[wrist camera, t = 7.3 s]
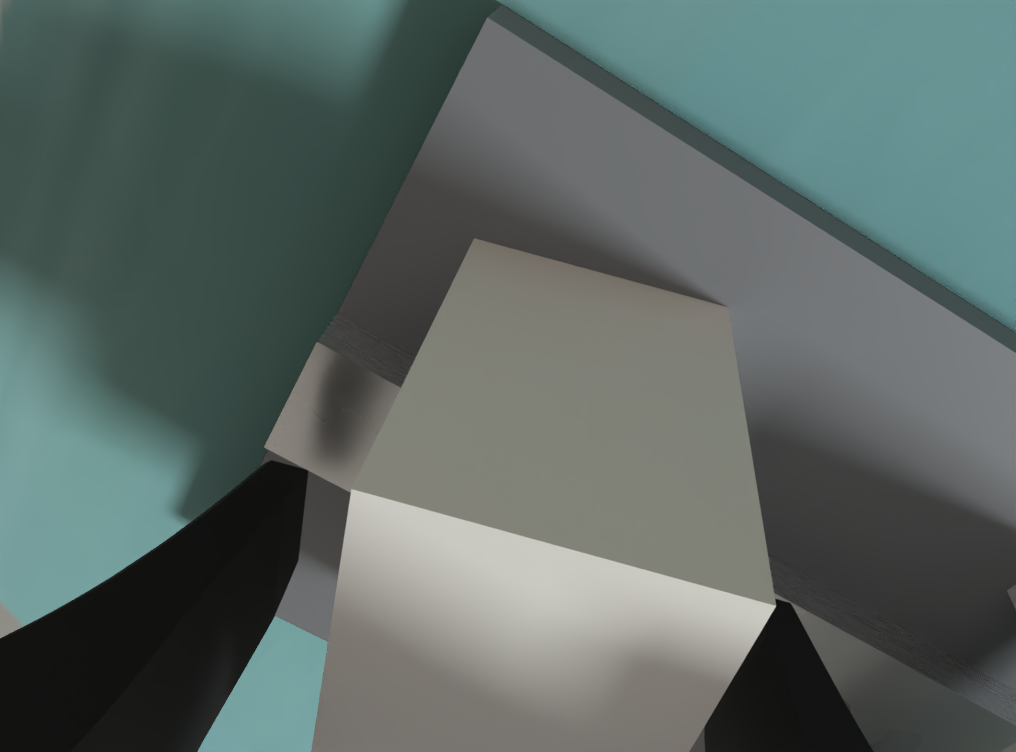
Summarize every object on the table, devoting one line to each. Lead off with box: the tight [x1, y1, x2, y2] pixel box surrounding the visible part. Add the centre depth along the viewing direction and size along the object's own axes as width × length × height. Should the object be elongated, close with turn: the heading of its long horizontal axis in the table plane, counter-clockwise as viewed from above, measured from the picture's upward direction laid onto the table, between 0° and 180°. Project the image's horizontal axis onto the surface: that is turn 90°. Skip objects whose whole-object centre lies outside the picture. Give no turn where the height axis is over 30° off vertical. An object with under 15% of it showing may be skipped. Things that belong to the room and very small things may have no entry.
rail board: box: [260, 4, 1016, 752], centre depth 13 cm, size 17×13×7 cm
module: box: [311, 238, 776, 752], centre depth 12 cm, size 4×9×6 cm, turn 167°
